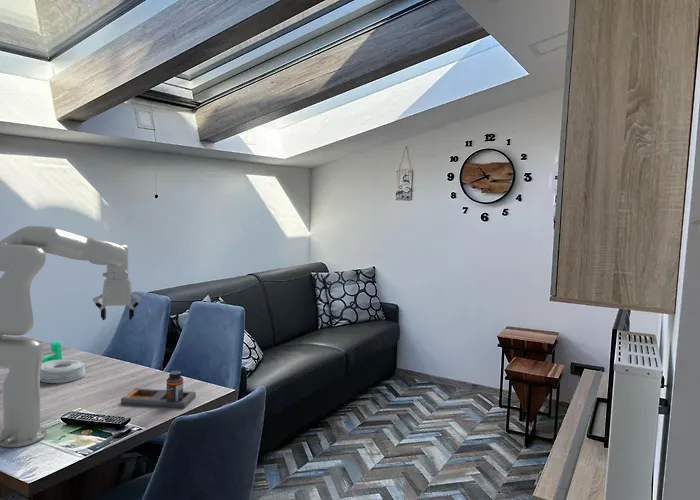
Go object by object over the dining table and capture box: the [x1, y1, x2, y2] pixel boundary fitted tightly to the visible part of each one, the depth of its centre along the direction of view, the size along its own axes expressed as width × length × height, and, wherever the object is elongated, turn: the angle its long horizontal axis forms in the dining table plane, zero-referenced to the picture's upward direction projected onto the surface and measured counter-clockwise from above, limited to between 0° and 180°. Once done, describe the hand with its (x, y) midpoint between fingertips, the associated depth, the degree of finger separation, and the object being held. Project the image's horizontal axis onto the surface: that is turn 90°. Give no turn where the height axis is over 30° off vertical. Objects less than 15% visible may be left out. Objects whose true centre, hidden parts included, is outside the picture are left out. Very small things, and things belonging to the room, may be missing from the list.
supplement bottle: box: [166, 370, 184, 401], centre depth 187 cm, size 6×6×11 cm
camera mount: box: [42, 340, 63, 363], centre depth 225 cm, size 12×8×10 cm, turn 39°
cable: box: [40, 359, 87, 385], centre depth 209 cm, size 18×18×6 cm
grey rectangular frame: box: [120, 387, 197, 409], centre depth 188 cm, size 11×24×2 cm, turn 86°
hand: (117, 319), depth 195 cm, fingers open, 9 cm apart
